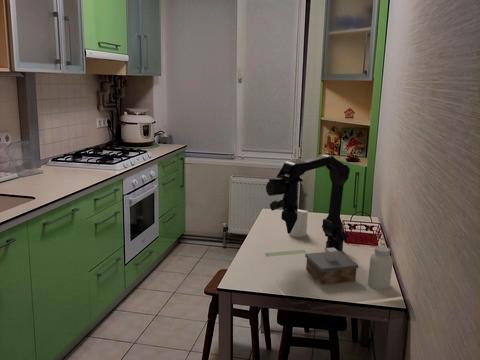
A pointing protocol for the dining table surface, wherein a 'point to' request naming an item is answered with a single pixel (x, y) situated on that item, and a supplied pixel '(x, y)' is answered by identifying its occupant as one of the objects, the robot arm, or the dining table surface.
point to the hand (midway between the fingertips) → (289, 229)
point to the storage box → (331, 274)
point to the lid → (331, 260)
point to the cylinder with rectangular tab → (300, 224)
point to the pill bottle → (380, 268)
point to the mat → (286, 253)
